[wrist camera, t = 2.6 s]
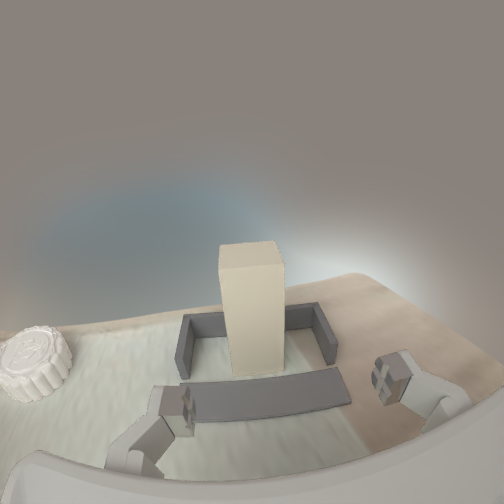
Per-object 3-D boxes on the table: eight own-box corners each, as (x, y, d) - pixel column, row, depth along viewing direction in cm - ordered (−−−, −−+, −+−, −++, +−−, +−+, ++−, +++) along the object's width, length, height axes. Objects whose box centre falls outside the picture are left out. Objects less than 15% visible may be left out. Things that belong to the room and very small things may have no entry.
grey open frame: (175, 421, 20) (166, 403, 19) (188, 334, 32) (183, 314, 30) (350, 403, 21) (357, 383, 19) (316, 322, 32) (317, 302, 31)
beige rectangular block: (233, 376, 25) (218, 269, 20) (232, 344, 30) (220, 245, 25) (283, 371, 25) (284, 263, 21) (276, 340, 30) (274, 240, 25)
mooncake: (67, 403, 20) (51, 380, 19) (-4, 403, 16) (-20, 382, 15) (79, 337, 31) (69, 316, 29) (17, 345, 27) (7, 326, 25)
